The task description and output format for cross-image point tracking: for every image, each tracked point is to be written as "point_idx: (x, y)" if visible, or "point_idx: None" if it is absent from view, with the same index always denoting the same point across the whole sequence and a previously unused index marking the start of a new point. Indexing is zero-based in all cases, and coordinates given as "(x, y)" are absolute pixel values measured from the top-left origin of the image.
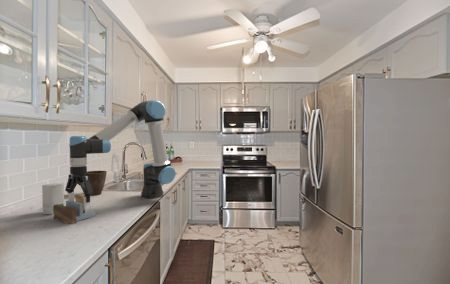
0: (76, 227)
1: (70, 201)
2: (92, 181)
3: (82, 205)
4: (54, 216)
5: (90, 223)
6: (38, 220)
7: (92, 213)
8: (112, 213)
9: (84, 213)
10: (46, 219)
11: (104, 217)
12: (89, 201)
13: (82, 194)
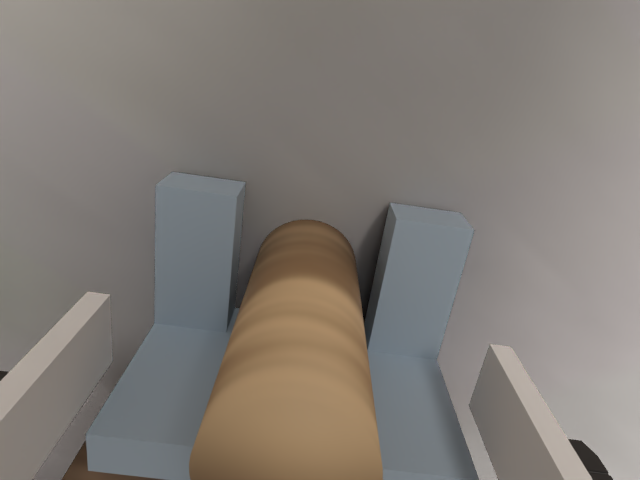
0: None
1: (183, 466)
2: None
3: (469, 459)
4: None
5: (584, 377)
6: (54, 463)
7: (464, 247)
8: (623, 20)
9: (396, 309)
10: (85, 429)
11: (613, 197)
12: (588, 462)
13: (245, 408)
